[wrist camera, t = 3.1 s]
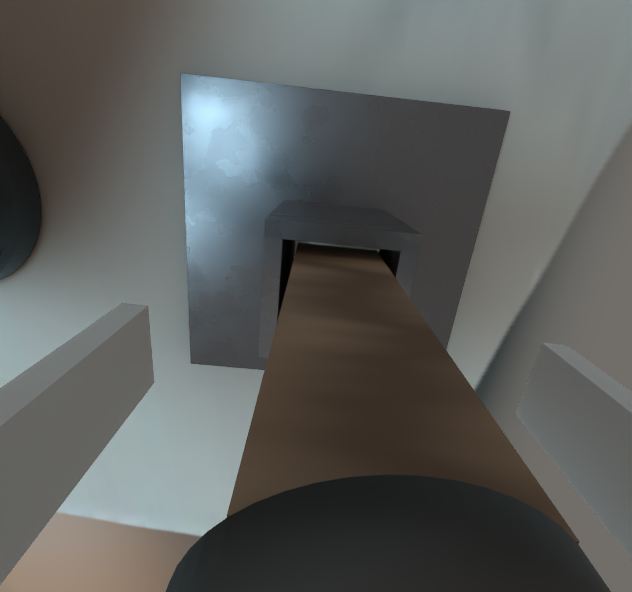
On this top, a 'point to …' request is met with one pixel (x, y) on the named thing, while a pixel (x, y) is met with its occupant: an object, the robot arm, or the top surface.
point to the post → (376, 460)
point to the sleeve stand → (323, 199)
